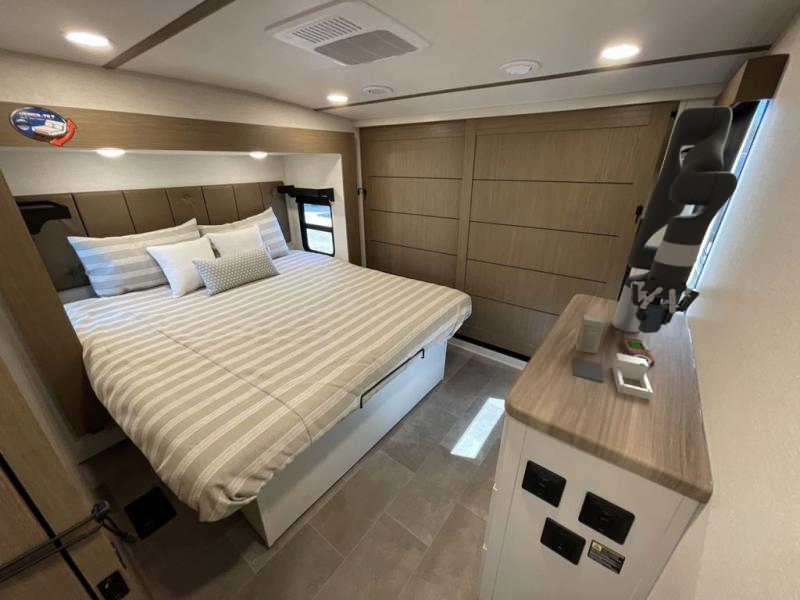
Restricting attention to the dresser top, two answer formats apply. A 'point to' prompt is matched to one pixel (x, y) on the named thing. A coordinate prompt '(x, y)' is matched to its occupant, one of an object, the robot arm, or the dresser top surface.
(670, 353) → the dresser top surface
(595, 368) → the mat
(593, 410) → the dresser top surface
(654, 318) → the vaping device
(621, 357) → the dock
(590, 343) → the skincare box
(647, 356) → the electronic device
